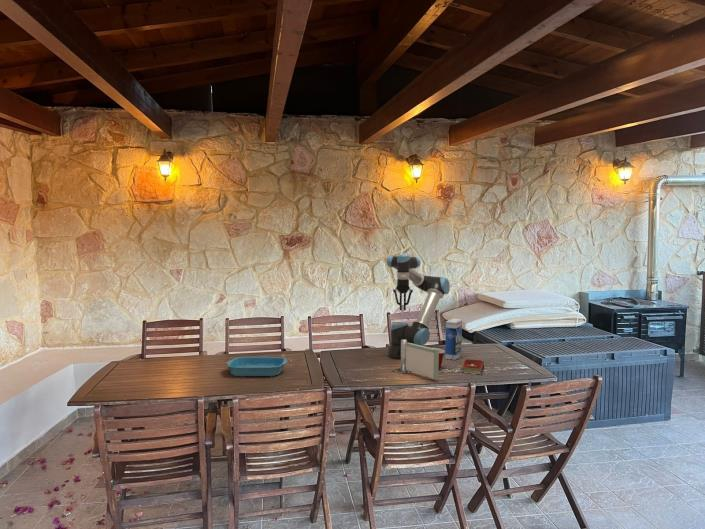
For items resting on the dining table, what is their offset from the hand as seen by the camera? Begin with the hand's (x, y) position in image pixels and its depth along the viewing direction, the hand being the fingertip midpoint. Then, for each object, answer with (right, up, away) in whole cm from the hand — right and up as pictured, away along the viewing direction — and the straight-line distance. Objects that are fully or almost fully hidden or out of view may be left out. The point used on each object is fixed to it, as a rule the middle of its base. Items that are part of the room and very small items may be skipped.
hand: (402, 315), depth 300 cm
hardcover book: (+44, -34, -5) cm, 55 cm away
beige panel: (+9, -33, -20) cm, 40 cm away
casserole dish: (-90, -34, -14) cm, 97 cm away
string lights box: (+37, -31, +22) cm, 53 cm away
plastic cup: (+21, -33, -4) cm, 39 cm away
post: (0, -33, -10) cm, 35 cm away
